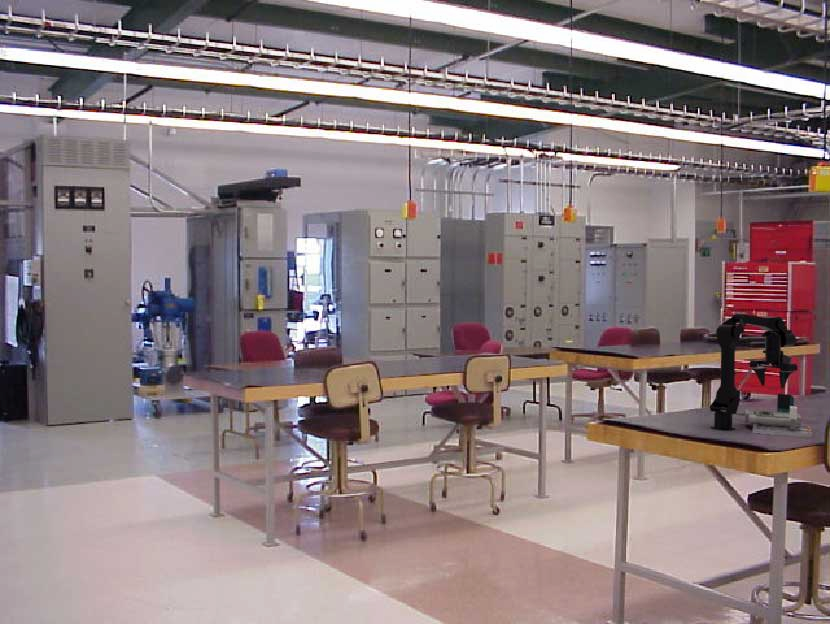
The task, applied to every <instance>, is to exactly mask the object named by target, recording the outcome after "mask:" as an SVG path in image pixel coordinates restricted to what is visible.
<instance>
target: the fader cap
mask: <svg viewBox="0 0 830 624" xmlns="http://www.w3.org/2000/svg"><path fill="white" fill-rule="evenodd" d="M797 413H798V407H797V406H794V407H792V406H790V419H791V425H790V428H791V429H794V430H795V428H796V425H795V421H796V419H797Z"/></svg>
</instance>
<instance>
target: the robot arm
mask: <svg viewBox="0 0 830 624" xmlns="http://www.w3.org/2000/svg"><path fill="white" fill-rule="evenodd" d="M746 325H748V326H755V327H759V328H760V329H761V330H763V331H764V332H763V333H762V334H761V337H762V338H763V337H764V349H765V350H762V353H763V354H764V359H752V360H750V361H749V362H748V363H749V364H748V368H751V370H752V371H754V373H755V375H756V377H757V379H758V381H759V383H760V385H761V386H762V387H764V386H766V385H765V383H766V371H767V369H768V368H773V369H779V370H780V371H778V376H779V377H778V378H779V383H780V388H781V389H785V386H786V384H787V382H788V379H789V377H790V376H791V374H793V373H795V372H796V371H798V365H797V363H795V362H794V363H793V362H792V357H790V356H788V355H786V354H784V350H782V348H787V347H789V348H790V347H793V346H795V345H796V343H797V338H796V335H795V334H794V333H793V331H792V329H788V327H787V325H786V323H785V321H784V320H783V318H782V317H781V316H772V315H771V316H767V315H766V316H757V315H751V314H746V313H740V312H738V313H735V314H733V315H732V316H731V317H730V318H729V319H727V320H724V321H723V322H722V323H721V324H720V325H719V326H718V327H717V328H716V342H717V343H718V345H719V346H720V386H719V387H718V389H717V390H716V394H715V398H714V400H713V401H712V402H711V404H710V406H709V409H710V412H714V419H713V420H714V422H713V424H714V425H712V426H710V428H711V429H717V430H722V431H728V430H735V429H736V427H733V417H732V416H733V415H732V414H734V415H736V413H737V412H738V409H739V405H740V402H741V401H742V400H741V391H740V389H737V388H736V386H735V385H736V384H735V374H736V373H735V371H736V369H735V368H736V367H735V365H736V364H735V363H736V361H735V360H736V357H735V356H736V348H737V346H738V344H739V342H740V339H741V335H742V334H743V333H744V331H745V330H746Z"/></svg>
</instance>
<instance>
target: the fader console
mask: <svg viewBox="0 0 830 624" xmlns="http://www.w3.org/2000/svg"><path fill="white" fill-rule="evenodd" d="M757 423H758V422H756V423H752V434H755V433H760V434H761V435H768V434H769V436H784V437H794V438H795V437H797V438H808V439H811V438H812V437H813V433H812V432H813V431H812V428H811V427H810V426H807V428H802V427H800V428H799V427H795V430H794V429H791V427H789V426H788V427H787V426H777V427H774V426H775V425H771V426H765V425H759V424H757ZM760 434H759V435H760Z"/></svg>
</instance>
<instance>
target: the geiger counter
mask: <svg viewBox="0 0 830 624" xmlns="http://www.w3.org/2000/svg"><path fill="white" fill-rule="evenodd" d="M780 411H781V410H780ZM734 415H736V416H743V417H744V418H745V420H742V419H739V418H737V417H734ZM732 419H734V420H737V421H740V422H744V423H748V424H749V423H750V424H754V423H757V425H761V426H772V425H773V424H775V425H773V426H774V427H778V426H779V425H785V426H787V425H788V426H791V419H790V412H789V413H787V412H777V411H771V410H770V409H768V410H758V409H747V408H746V409H744V412H742V411H739V412H738V411H737V413H736V414H732ZM802 419H803V418H802V417H801V415H800V414H799V413H798V412H797V419H796V421H795V426H796V427H797V426H798V428H801V426H802V423H803V420H802ZM770 424H772V425H770ZM776 425H777V426H776Z"/></svg>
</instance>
